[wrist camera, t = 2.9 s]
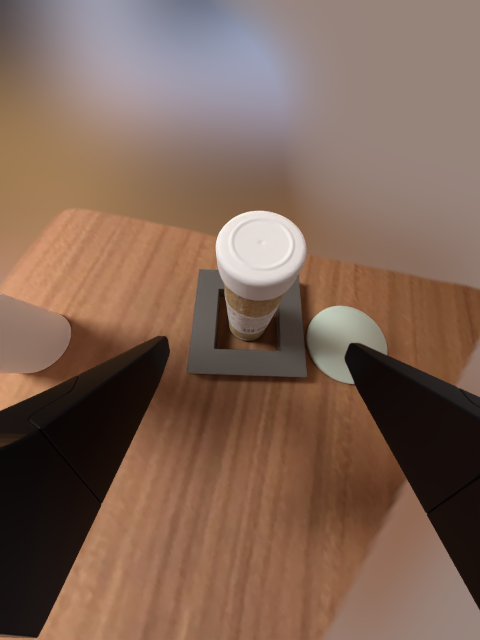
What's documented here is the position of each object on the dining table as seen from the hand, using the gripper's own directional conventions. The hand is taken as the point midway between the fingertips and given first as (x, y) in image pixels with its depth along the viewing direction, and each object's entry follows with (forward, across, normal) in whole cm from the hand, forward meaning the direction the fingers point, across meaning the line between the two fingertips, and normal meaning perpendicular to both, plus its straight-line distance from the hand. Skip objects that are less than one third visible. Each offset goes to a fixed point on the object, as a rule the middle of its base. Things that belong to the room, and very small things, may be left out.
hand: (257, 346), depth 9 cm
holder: (+12, 0, +5) cm, 13 cm away
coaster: (+10, -12, +6) cm, 17 cm away
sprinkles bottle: (+12, 0, +5) cm, 13 cm away
